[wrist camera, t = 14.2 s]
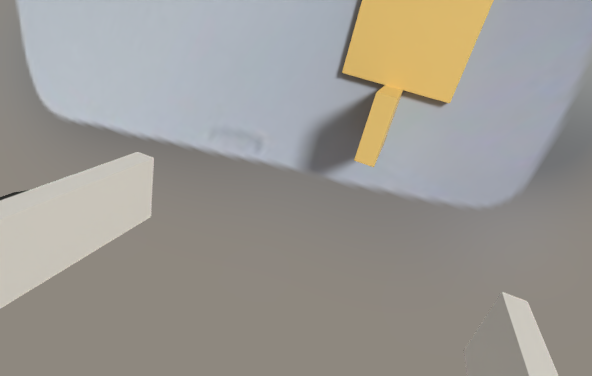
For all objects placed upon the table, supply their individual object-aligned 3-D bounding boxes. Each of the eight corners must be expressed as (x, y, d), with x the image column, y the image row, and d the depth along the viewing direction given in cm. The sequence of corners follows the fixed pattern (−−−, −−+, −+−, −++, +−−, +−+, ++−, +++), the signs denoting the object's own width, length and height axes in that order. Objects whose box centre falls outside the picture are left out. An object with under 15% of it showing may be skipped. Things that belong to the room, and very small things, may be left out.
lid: (328, 127, 38) (306, 144, 31) (401, -136, 28) (394, -198, 21) (425, 158, 36) (425, 184, 29) (541, -115, 26) (584, -177, 19)
